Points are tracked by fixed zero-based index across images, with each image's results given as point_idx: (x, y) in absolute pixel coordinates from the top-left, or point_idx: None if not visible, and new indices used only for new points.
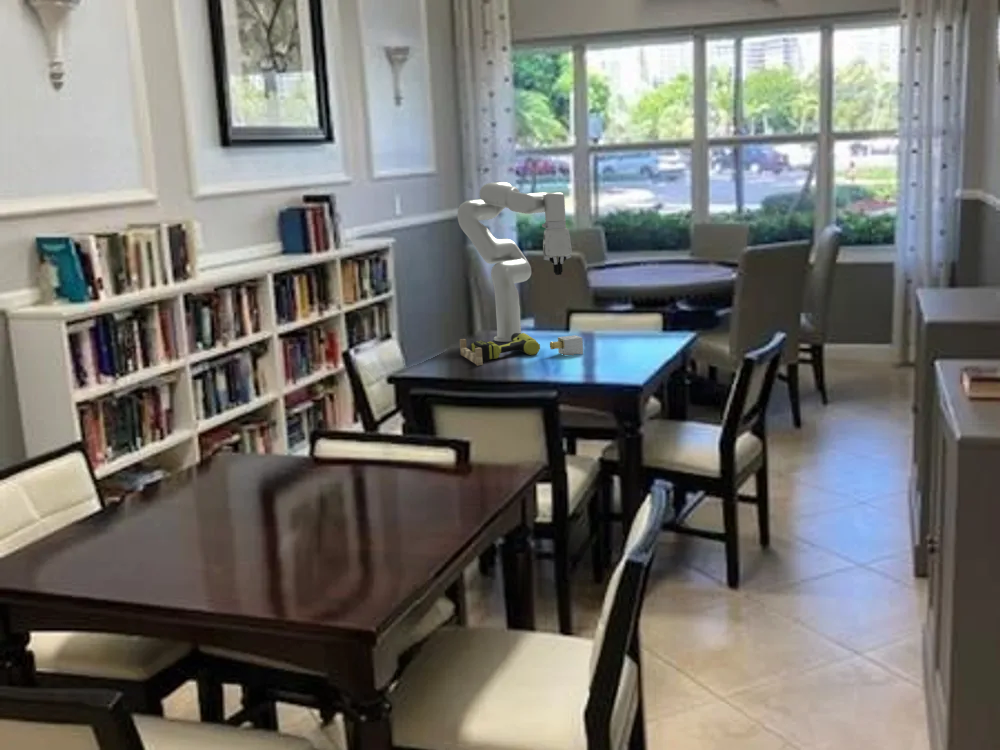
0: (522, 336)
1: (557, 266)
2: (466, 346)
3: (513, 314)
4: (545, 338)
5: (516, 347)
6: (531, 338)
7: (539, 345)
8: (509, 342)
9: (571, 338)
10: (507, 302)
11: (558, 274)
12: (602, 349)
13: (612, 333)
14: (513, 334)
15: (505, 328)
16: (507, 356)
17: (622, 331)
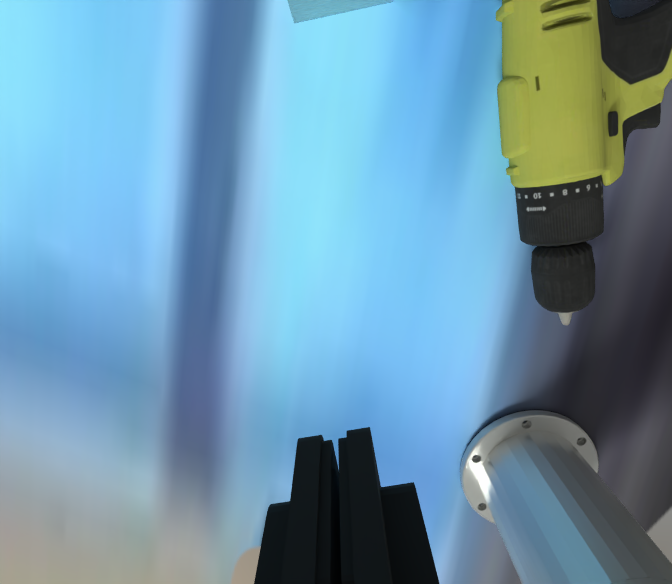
0: (598, 106)
1: (379, 546)
2: None
3: (572, 515)
4: (378, 432)
5: (635, 14)
6: (560, 29)
7: (505, 3)
8: (655, 115)
9: None
10: (652, 577)
11: (353, 430)
12: (155, 18)
13: (83, 430)
14: (591, 286)
15: (581, 464)
16: None
17: (38, 458)
